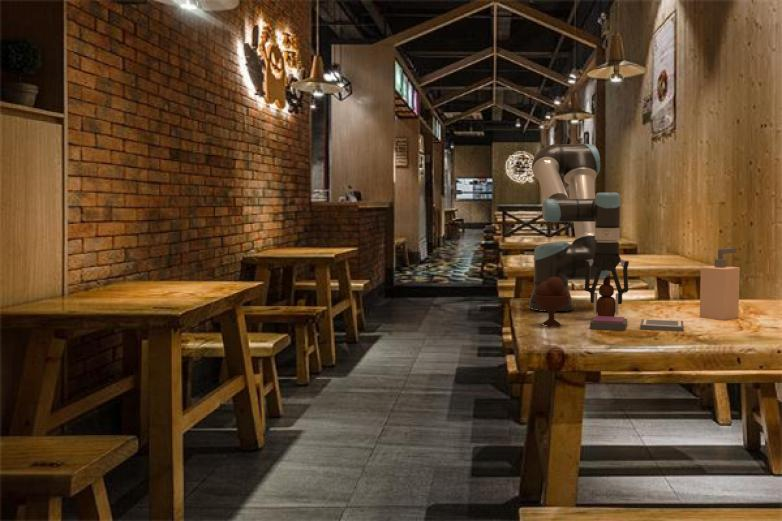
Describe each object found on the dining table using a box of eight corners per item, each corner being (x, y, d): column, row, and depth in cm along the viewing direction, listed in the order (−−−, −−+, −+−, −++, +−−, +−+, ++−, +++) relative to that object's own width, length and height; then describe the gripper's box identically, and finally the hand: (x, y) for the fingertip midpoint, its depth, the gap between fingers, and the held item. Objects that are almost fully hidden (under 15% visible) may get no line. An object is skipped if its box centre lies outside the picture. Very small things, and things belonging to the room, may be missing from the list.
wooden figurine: (616, 321, 240) (617, 274, 239) (597, 321, 241) (598, 273, 240) (614, 318, 246) (615, 271, 245) (595, 317, 248) (596, 271, 246)
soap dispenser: (724, 320, 240) (726, 250, 238) (699, 317, 247) (700, 249, 245) (745, 316, 248) (747, 248, 246) (720, 313, 255) (721, 247, 253)
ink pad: (590, 329, 227) (590, 320, 227) (593, 323, 236) (593, 315, 236) (625, 330, 224) (625, 322, 223) (627, 325, 233) (627, 316, 233)
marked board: (640, 329, 226) (640, 324, 226) (641, 322, 237) (641, 318, 237) (683, 331, 222) (683, 326, 222) (683, 324, 233) (683, 320, 233)
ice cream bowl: (570, 322, 238) (571, 275, 237) (566, 328, 228) (567, 278, 227) (536, 321, 242) (537, 274, 241) (531, 327, 231) (531, 277, 230)
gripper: (575, 241, 241) (574, 314, 243) (637, 242, 235) (636, 317, 237) (577, 240, 248) (577, 310, 250) (639, 241, 242) (637, 313, 244)
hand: (606, 313), depth 244 cm, fingers closed on wooden figurine, 6 cm apart
